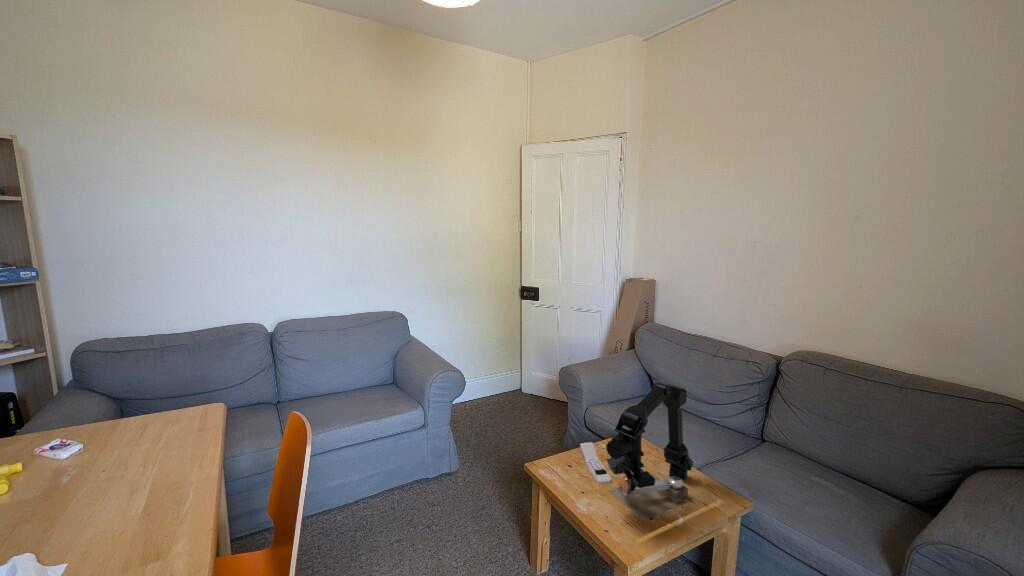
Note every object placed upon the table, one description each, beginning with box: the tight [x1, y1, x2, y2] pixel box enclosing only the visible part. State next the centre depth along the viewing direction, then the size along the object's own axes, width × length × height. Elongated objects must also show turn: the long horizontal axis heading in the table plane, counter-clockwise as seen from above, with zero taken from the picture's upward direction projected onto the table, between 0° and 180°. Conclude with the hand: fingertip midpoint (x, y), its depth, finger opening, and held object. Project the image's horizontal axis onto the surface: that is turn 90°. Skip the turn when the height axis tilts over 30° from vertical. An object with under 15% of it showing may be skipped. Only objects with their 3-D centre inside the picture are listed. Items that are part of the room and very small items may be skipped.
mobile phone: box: [580, 441, 612, 484], centre depth 168 cm, size 6×6×25 cm
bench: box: [607, 473, 690, 522], centre depth 150 cm, size 22×18×6 cm
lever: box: [622, 474, 684, 496], centre depth 146 cm, size 23×5×6 cm, turn 103°
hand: (632, 490), depth 141 cm, fingers closed
